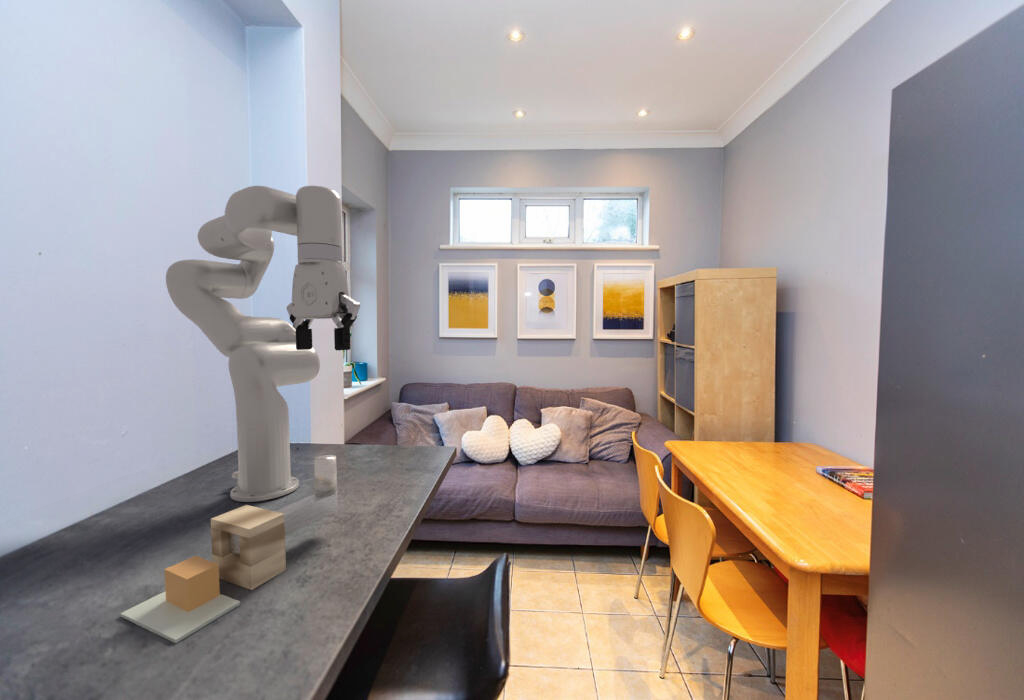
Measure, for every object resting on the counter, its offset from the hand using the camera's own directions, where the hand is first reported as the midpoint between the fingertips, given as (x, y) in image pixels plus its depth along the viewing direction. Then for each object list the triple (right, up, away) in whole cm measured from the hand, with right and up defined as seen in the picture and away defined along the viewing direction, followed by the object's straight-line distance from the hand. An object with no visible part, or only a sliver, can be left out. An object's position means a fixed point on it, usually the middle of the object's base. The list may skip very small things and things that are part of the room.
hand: (323, 349), depth 78 cm
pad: (-5, -32, -28) cm, 42 cm away
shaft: (+1, -27, -14) cm, 31 cm away
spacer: (-4, -29, -24) cm, 38 cm away
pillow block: (-1, -31, -20) cm, 37 cm away
